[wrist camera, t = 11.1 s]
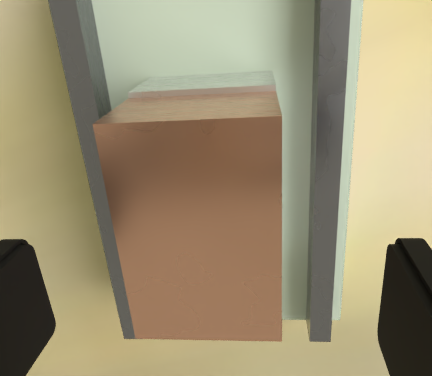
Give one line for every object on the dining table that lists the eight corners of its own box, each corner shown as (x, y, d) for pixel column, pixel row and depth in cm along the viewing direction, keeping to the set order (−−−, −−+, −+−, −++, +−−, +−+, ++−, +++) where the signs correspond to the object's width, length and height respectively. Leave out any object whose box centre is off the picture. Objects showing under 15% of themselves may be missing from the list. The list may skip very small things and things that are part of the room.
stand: (330, 283, 23) (346, 342, 19) (134, 284, 25) (110, 338, 21) (350, -76, 16) (382, -104, 12) (69, -47, 17) (12, -64, 13)
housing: (272, 70, 16) (282, 108, 10) (273, 241, 19) (281, 345, 13) (150, 77, 16) (90, 116, 10) (172, 242, 20) (136, 342, 14)
